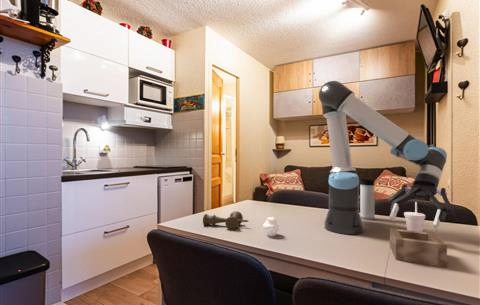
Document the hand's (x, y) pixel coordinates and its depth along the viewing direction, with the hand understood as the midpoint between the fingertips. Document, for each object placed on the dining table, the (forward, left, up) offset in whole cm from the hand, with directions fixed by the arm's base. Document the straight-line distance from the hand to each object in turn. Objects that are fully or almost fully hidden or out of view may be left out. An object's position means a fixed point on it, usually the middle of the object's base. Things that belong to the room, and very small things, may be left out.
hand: (412, 222), depth 88 cm
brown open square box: (-2, -15, -7) cm, 17 cm away
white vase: (-48, -15, -7) cm, 51 cm away
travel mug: (-13, +31, -7) cm, 34 cm away
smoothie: (+1, +2, -7) cm, 7 cm away
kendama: (-69, -12, -7) cm, 71 cm away
